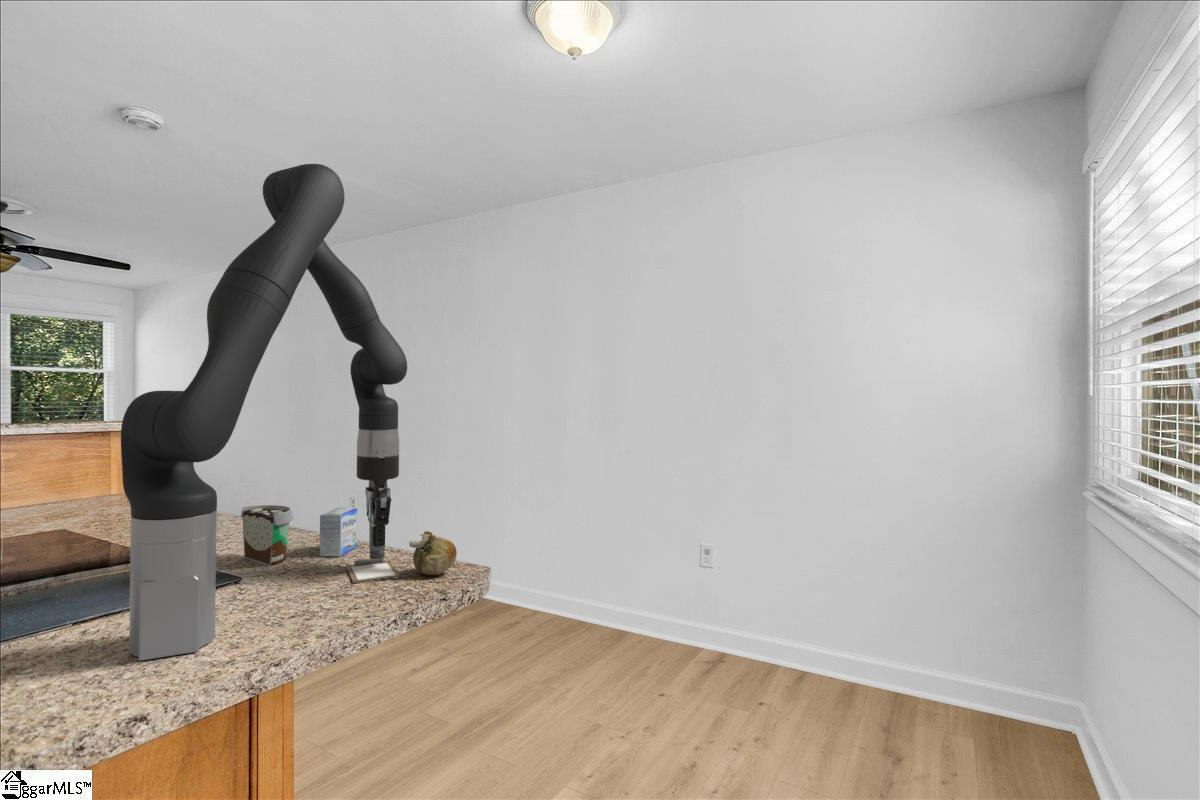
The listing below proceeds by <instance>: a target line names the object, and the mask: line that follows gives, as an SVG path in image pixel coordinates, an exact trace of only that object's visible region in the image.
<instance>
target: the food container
mask: <svg viewBox="0 0 1200 800" xmlns="http://www.w3.org/2000/svg"><path fill="white" fill-rule="evenodd" d="M240 518H242V531H243V532H242V537H243V556H244V557H243V559H246V560H249V561H252V562H256V563H259V564H262V565H265V566H268V567H274V566H277V565H280V564H282V563H283V562H285V561H286V559H287V550H288V549H287V548H288V541H289V529H290V522H292V521H294V516H293V511H292V510H291V508H290V507H289V506H286V505H285V506H284V505H278V504H277V505H276V504H275V505H274V504H273V505H271V504H269V505H268V504H264V505H262V504H261V505H250V506H242V507H241V515H240Z"/></svg>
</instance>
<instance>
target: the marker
mask: <svg viewBox="0 0 1200 800" xmlns="http://www.w3.org/2000/svg"><path fill="white" fill-rule="evenodd" d="M373 509H374V510H375V508H373ZM379 518H383V515H380V516H378V519H379ZM371 523H372V514H370V522H369V527H370V531H369V536H368V537H369V543H368V544H369V545H368V547H369V559H381V558H382V559H384V558H385V550H386V544H385V545H384V546H379V547H374V546H373V545H372V524H371Z"/></svg>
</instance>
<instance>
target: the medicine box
mask: <svg viewBox="0 0 1200 800" xmlns="http://www.w3.org/2000/svg"><path fill="white" fill-rule="evenodd" d="M356 541H357V542H356ZM357 547H358V507H351V506H350V507H349V506H344V507H342V506H340V507H337V508H334V509H331V510H330V511H327V512H324V513H322V514H320V515H319V557H325V558H327V557H329V558H332V557H333V558H335V557H336V558H341V557H343V556H345V555H347V554H348V553H350V552H351V551H352V550H355V549H356V548H357Z"/></svg>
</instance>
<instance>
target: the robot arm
mask: <svg viewBox="0 0 1200 800" xmlns="http://www.w3.org/2000/svg"><path fill="white" fill-rule="evenodd" d="M262 197H263V201H264V203H265V206H266V208H267V211H268V212H269V213H270V216H271V217H272V218H273V220H274V223H273V224H272V225H271V226H270V227H269V228H268V229H267V230H266V231H264V233H262V234H261V235H260V236H258V237H257V238H256V239H255V240H254V241H253V242H251V243H250V244H249V245H248V246H247V247H246V248H245V249H243V250H242V251H241V252H240V253H239V254H238V255H237V256H236V257H235V258H234V259H233V261H231V262H230V263H229V265H228V266H227V268H226V269H225V270H224V272H223V274H222V276H221V278H220V280H219V281H218V283H217V284H216V286H215V288H214V289H213V292H212V293H211V296H210V298H209V300H208V303H207V306H206V307H207V309H206V327H207V334H208V336H207V337H208V344H207V350H206V354H205V356H204V359H203V361H202V363H201V364H200V367H199V368H198V370H197V372H196V374H195V376H194V377H193V379H192V380H191V381H190V383H189V384H188V386H187V387H186V388H185V389H184V390H152V391H151V390H150V391H148V392H144V393H143V394H140V395H138V396H137V397H136V398H134V399H133V400H132V401H131V402H130V404H129V405H128V406H127V408H126V409H125V412H124V414H123V418H122V422H121V428H120V455H121V456H120V457H121V472H122V474H121V475H122V477H121V478H122V487H123V490H124V491H123V492H124V494H125V496H126V498H127V500H128V503H129V505H130V543H129V544H130V548H129V549H130V552H129V553H130V554H129V555H130V557H129V560H130V561H129V562H130V563H129V629H128V630H129V633H128V634H129V640H128V641H129V643H128V645H129V648H128V652H129V654H131V655H132V656H134V657H138V658H137V659H138V662H139V661H146V660H152V659H159V658H163V657H164V658H165V657H171V656H177V655H182V654H183V655H184V654H190V653H196V652H199V651H200V648H202V647H204V646H206V645H207V644H209V643H211V642H212V641H213V640H214V639H215V637H216V595H217V594H216V589H217V588H216V586H217V585H216V584H217V583H216V582H217V581H216V580H217V579H216V578H217V577H216V576H217V532H218V531H217V530H218V529H217V527H218V526H217V525H218V524H217V523H218V522H217V521H218V518H217V517H218V516H217V514H218V495H217V491H216V489H214V487H212V486H211V485H210V484H208V483H206V482H205V481H204V480H203V479H201V477H200V476H199V475H198V473H197V472H196V470H195V467H194V465H195V464H194V463H202V462H206V461H209V460H210V459H213V458H214V457H216V456H217V455H218V454H220V452H222V450H224V448H225V447H226V446H227V443H228V442H229V440H230V439H231V437H232V435H233V432H234V431H235V428H236V425H237V423H238V420H239V416H240V415H241V412H242V409H243V406H244V403H245V400H246V398H247V395H248V392H249V389H250V386H251V383H252V382H253V379H254V377H255V374H256V371H257V370H258V368H259V365H260V363H261V361H262V359H263V356H264V354H265V353H266V350H267V348H268V346H269V344H270V342H271V340H272V337H273V336H274V334H275V332H276V330H277V328H278V327H279V325H280V323H281V322H282V319H283V317H284V315H285V314H286V312H287V309H288V308H289V306H290V304H291V301H292V299H293V296H294V294H295V293H296V290H297V288H298V287H299V284H300V282H301V281H302V279H303V277H304V275H305V273H306V271H308V273H310V275H311V277H312V279H313V280H314V282H315V283H316V285H317V286H318V288H319V289H320V291H321V293H322V295H323V296H324V298H325V301H326V303H327V304H328V306H329V308H330V311H331V313H332V315H333V318H334V319H335V322H336V323H337V325H338V327H339V329H340V332H341V334H342V335H343V337H344V338H345V340H346V341H349V342H350V343H353V344H357V345H358V346H360V347H361V348H359V349H358V350H357V351H356V352H355V353H354V355H353V357H352V359H351V363H350V378H351V382H352V386H353V389H354V394H355V399H356V401H357V405H358V432H357V433H358V434H357V439H356V478H357V479H359V480H362V481H368V486H367V487H365V488H364V491H365V492H364V494H365V497H366V498H365V504H366V505H365V508H366V516H367V521H368V523H370V514H372V523H371V524H372V545H373V546H374V547H379V546H384V545H385V546H386V526H387V525H389V523H390V512H391V510H390V509H391V503H392V498H391V488H390V487H389V488H388V480H394V479H396V478H398V477H399V475H400V437H399V405H398V402H397V400H395V399H394V398H391V397H389V396H387V394H386V393H385V389H384V385H389V386H390V385H396V384H399V383H401V382H403V380H404V379H405V378H406V376H407V373H408V362H407V361H408V359H407V358H406V355H405V353H404V350H403V348H402V347H401V346H400V344H399V343H398V341H397V340H396V339H395V337H394V336H393V335H392V333H391V332H390V330H389V329H388V328H387V327H386V326H385V325H384V324H383V322H382V321H381V319H380V316H379V314H378V311H377V309H376V307H375V305H374V302H373V300H372V298H371V296H370V293H369V292H368V290H367V288H366V287H365V285H364V283H363V282H362V281H361V280H360V278H358V276H356V274H354V272H352V271H351V269H350V268H349V267H347V266H346V264H344V262H343V261H342V260H340V258H338V257H337V255H336V254H335V253H334V252H333V251H332V249H331V248H330V247H329V245H328V243H326V241H325V238H326V237H327V235H329V232H331V230H332V228H333V227H334V225H335V224H336V222H338V220H339V218H340V216H341V214H342V212H343V209H344V205H345V204H344V203H345V189H344V185H343V183H342V180H341V178H340V177H339V175H338V173H337V172H335V171H334V170H333V169H331V168H330V167H328V166H327V165H324V164H320V163H304V164H300V165H296V166H292V167H289V168H285V169H279V170H277V171H274V172H272V173H270V174H268V176H267V177H266V178H265V179H264V181H263V184H262ZM373 508H375V510H374V509H373ZM380 515H383V518H379V519H378V516H380ZM368 529H369V531H370V526H369V528H368Z"/></svg>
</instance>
